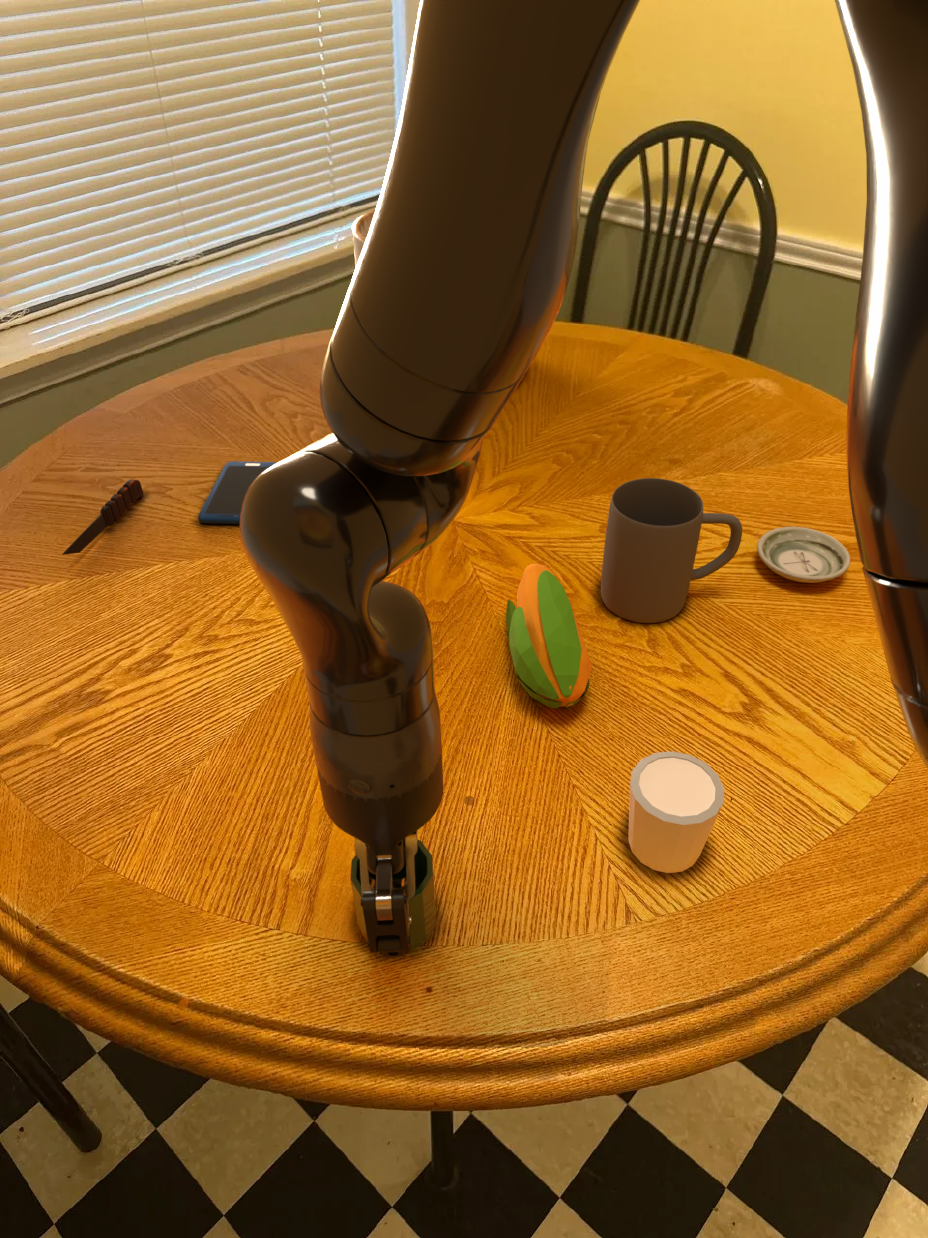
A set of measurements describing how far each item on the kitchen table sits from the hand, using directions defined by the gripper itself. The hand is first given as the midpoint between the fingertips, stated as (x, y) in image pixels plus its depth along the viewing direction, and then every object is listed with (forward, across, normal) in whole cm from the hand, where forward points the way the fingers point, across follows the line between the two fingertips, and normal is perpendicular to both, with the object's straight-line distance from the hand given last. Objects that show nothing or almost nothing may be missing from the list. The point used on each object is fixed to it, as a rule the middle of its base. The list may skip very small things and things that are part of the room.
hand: (395, 898), depth 62 cm
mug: (+3, +36, -28) cm, 46 cm away
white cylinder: (+3, +5, -21) cm, 22 cm away
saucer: (+3, +40, -44) cm, 59 cm away
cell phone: (+3, +60, +20) cm, 63 cm away
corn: (+3, +28, -14) cm, 31 cm away
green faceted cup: (+2, 0, 0) cm, 2 cm away
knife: (+3, +53, +35) cm, 63 cm away
